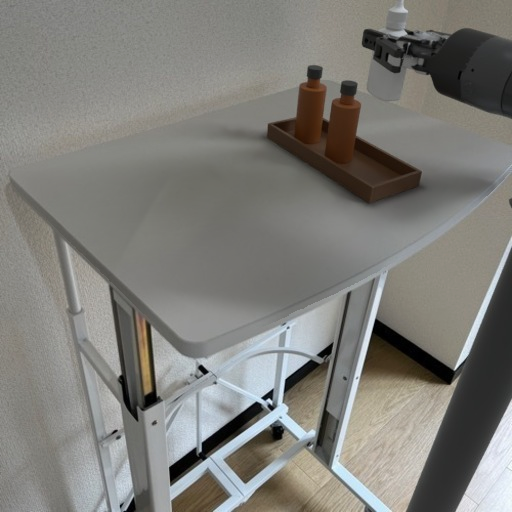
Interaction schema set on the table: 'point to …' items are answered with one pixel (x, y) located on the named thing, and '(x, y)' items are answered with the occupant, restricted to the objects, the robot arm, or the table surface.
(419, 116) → the table surface
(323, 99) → the amber bottle far
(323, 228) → the table surface
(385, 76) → the eye dropper bottle
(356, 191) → the tray
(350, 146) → the amber bottle middle
